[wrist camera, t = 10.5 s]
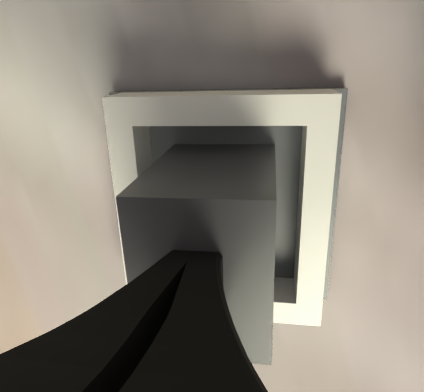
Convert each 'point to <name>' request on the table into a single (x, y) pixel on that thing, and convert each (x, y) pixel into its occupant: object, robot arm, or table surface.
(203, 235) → the plug
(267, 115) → the socket plate
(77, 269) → the table surface
